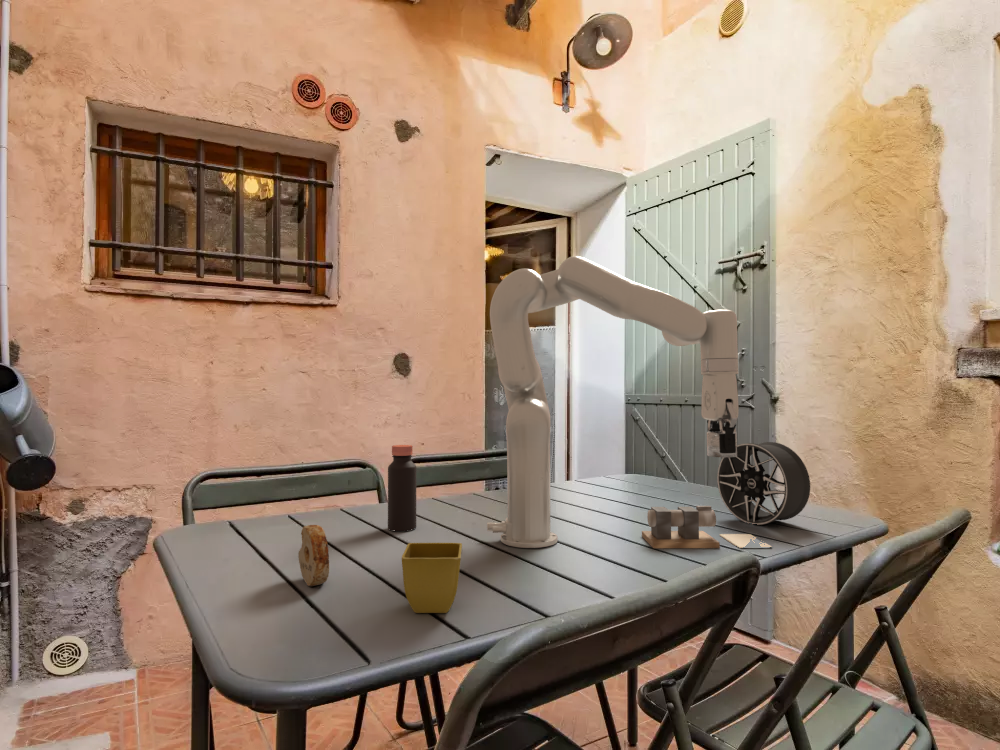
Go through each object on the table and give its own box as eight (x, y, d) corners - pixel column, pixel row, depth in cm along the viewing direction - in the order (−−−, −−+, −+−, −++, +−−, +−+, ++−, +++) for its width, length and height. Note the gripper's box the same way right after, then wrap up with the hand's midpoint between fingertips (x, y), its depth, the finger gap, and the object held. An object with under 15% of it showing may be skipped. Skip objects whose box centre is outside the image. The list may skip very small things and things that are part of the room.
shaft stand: (653, 548, 124) (653, 511, 124) (641, 536, 134) (641, 502, 134) (721, 548, 124) (721, 511, 124) (705, 536, 134) (704, 501, 134)
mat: (739, 548, 124) (739, 547, 124) (719, 535, 134) (719, 534, 135) (772, 548, 124) (772, 547, 124) (750, 535, 135) (750, 534, 135)
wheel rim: (717, 516, 154) (716, 440, 155) (740, 512, 159) (739, 438, 159) (788, 532, 137) (786, 446, 138) (811, 527, 142) (810, 444, 142)
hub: (712, 457, 123) (712, 433, 123) (703, 454, 129) (702, 431, 129) (741, 457, 123) (740, 433, 123) (730, 453, 129) (730, 431, 129)
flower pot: (462, 597, 95) (462, 541, 95) (460, 618, 86) (460, 557, 87) (408, 598, 95) (408, 542, 95) (400, 619, 86) (400, 558, 86)
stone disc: (333, 589, 99) (333, 530, 99) (310, 593, 97) (310, 533, 97) (318, 573, 108) (318, 518, 108) (297, 576, 106) (297, 520, 106)
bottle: (411, 532, 138) (411, 447, 138) (383, 531, 139) (383, 446, 139) (419, 525, 144) (419, 444, 145) (393, 525, 145) (393, 444, 146)
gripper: (689, 369, 135) (691, 447, 135) (716, 366, 118) (718, 456, 118) (722, 368, 135) (724, 447, 135) (753, 365, 118) (756, 455, 118)
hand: (721, 450), depth 126 cm, fingers closed on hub, 6 cm apart
